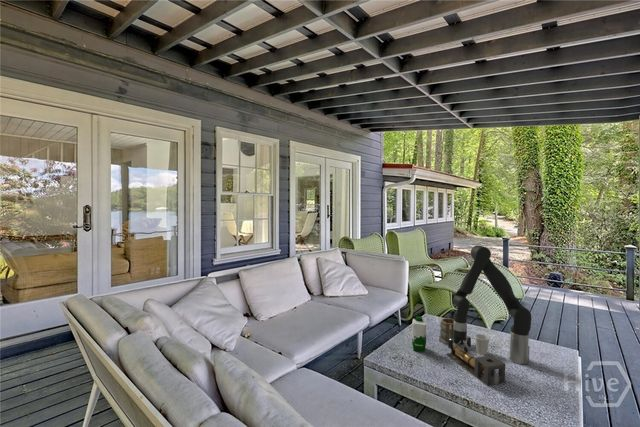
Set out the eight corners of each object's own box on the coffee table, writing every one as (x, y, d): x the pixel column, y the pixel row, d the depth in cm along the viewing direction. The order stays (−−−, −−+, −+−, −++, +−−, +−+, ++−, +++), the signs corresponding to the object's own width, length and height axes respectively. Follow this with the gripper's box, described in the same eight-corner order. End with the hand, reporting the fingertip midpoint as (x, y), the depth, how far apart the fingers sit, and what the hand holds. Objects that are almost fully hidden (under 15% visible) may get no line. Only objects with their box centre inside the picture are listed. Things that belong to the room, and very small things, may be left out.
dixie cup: (480, 348, 208) (481, 333, 208) (492, 354, 201) (492, 338, 200) (471, 350, 205) (471, 335, 205) (482, 356, 197) (482, 340, 197)
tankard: (439, 335, 227) (439, 314, 226) (458, 338, 222) (459, 317, 221) (438, 348, 208) (439, 325, 207) (459, 351, 204) (460, 328, 203)
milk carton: (425, 346, 211) (425, 316, 209) (426, 353, 202) (427, 321, 201) (411, 344, 213) (411, 315, 211) (411, 351, 204) (412, 320, 203)
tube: (451, 354, 200) (451, 346, 199) (458, 353, 201) (458, 345, 201) (477, 372, 178) (477, 364, 178) (484, 371, 180) (485, 362, 179)
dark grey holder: (445, 354, 200) (446, 338, 199) (461, 352, 203) (462, 336, 202) (487, 386, 167) (488, 367, 166) (505, 383, 170) (506, 364, 169)
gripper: (465, 324, 201) (465, 350, 202) (446, 327, 197) (445, 352, 198) (474, 329, 194) (473, 356, 194) (454, 332, 190) (453, 358, 191)
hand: (459, 354), depth 196 cm, fingers open, 8 cm apart
